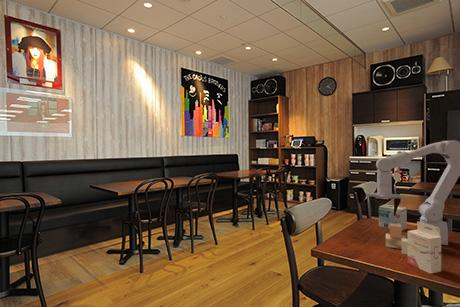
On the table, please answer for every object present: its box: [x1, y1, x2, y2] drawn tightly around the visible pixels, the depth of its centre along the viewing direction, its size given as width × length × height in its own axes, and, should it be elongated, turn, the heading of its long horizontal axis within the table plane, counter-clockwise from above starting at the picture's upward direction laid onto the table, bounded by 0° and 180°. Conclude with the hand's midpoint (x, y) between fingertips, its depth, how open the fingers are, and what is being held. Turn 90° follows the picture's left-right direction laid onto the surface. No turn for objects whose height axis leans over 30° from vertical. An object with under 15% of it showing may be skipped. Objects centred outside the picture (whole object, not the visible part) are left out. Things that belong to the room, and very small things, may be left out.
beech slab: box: [385, 233, 407, 250], centre depth 111 cm, size 7×7×4 cm
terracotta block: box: [389, 223, 402, 239], centre depth 111 cm, size 4×4×5 cm
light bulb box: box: [378, 203, 408, 232], centre depth 134 cm, size 11×7×11 cm, turn 37°
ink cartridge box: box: [407, 221, 442, 274], centre depth 91 cm, size 9×5×15 cm, turn 17°
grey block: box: [401, 237, 408, 256], centre depth 103 cm, size 4×4×5 cm
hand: (384, 214), depth 121 cm, fingers open, 7 cm apart
